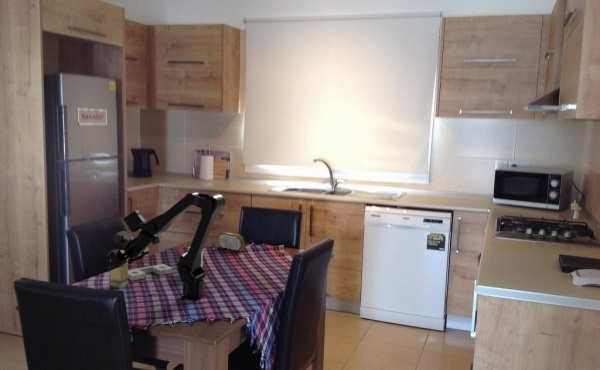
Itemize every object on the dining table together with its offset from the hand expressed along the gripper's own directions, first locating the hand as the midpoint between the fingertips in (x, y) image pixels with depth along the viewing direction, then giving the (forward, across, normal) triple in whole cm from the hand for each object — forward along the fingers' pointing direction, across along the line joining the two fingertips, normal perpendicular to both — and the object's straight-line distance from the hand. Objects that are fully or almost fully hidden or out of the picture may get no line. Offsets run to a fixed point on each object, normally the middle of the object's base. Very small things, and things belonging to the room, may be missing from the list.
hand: (116, 267), depth 201 cm
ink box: (-9, -26, +19) cm, 33 cm away
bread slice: (-6, -68, +16) cm, 70 cm away
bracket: (+2, -16, +7) cm, 18 cm away
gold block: (+4, 0, +6) cm, 7 cm away
